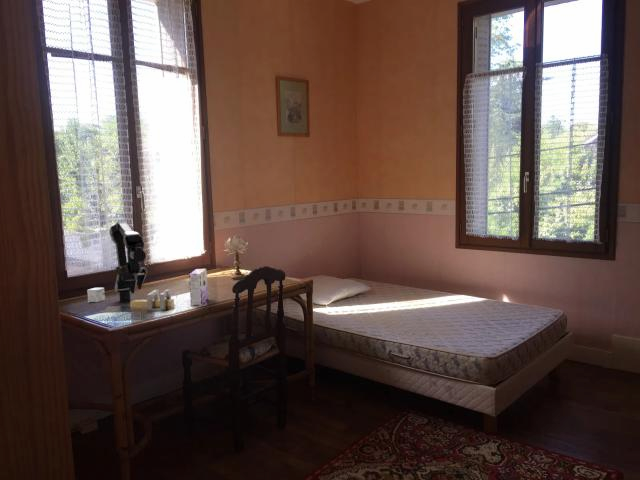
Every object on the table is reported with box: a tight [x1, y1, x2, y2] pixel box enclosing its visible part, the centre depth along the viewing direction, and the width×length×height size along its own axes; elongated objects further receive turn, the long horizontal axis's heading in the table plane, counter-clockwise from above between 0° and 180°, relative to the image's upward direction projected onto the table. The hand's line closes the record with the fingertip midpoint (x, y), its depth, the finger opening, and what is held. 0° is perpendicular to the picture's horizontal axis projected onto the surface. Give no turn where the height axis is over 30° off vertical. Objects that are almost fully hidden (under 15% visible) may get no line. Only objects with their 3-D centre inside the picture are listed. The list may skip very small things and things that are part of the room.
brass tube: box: [129, 298, 175, 310], centre depth 261 cm, size 4×20×4 cm, turn 89°
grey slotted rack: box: [97, 288, 176, 314], centre depth 261 cm, size 12×34×9 cm, turn 89°
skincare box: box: [86, 287, 106, 304], centre depth 281 cm, size 6×6×7 cm
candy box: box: [188, 268, 209, 307], centre depth 273 cm, size 14×6×16 cm, turn 178°
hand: (136, 291), depth 260 cm, fingers open, 9 cm apart
